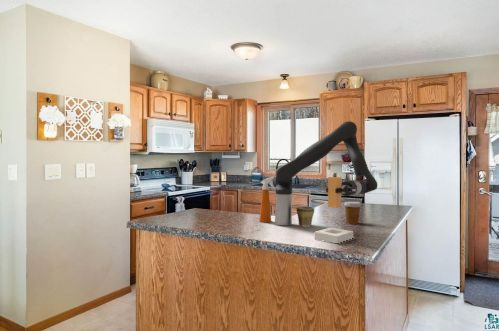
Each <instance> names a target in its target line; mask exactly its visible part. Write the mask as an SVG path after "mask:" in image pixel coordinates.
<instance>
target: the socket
mask: <svg viewBox="0 0 499 331" xmlns="http://www.w3.org/2000/svg"><path fill="white" fill-rule="evenodd" d="M352 238H353V239H354V231H353V230H348V229H347V230H346V229H343V228H335V227H333V226H332V227H328V228H324V229H320V230H317V231H314V240H316V239H319V240H318V241H320V240H324V241H323V242H325V241H329V242H333V243H332V244H334V243H339V244H341V243H340V242H342V243H344V242H343V241H345V242H347V241H346V240H348V241H350V240H349V239H351V240H353V239H352ZM329 242H328V243H329Z"/></svg>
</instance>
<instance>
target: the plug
mask: <svg viewBox="0 0 499 331" xmlns="http://www.w3.org/2000/svg"><path fill="white" fill-rule="evenodd" d="M337 174H338V173H337V172H333V173H332V176H328V177H327V188H328V192H327V208H333V209H338V208H342V194H341V193H335V189H336V188H341V183H342V182H343V181H342V179H343V178H342V176H337Z"/></svg>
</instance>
